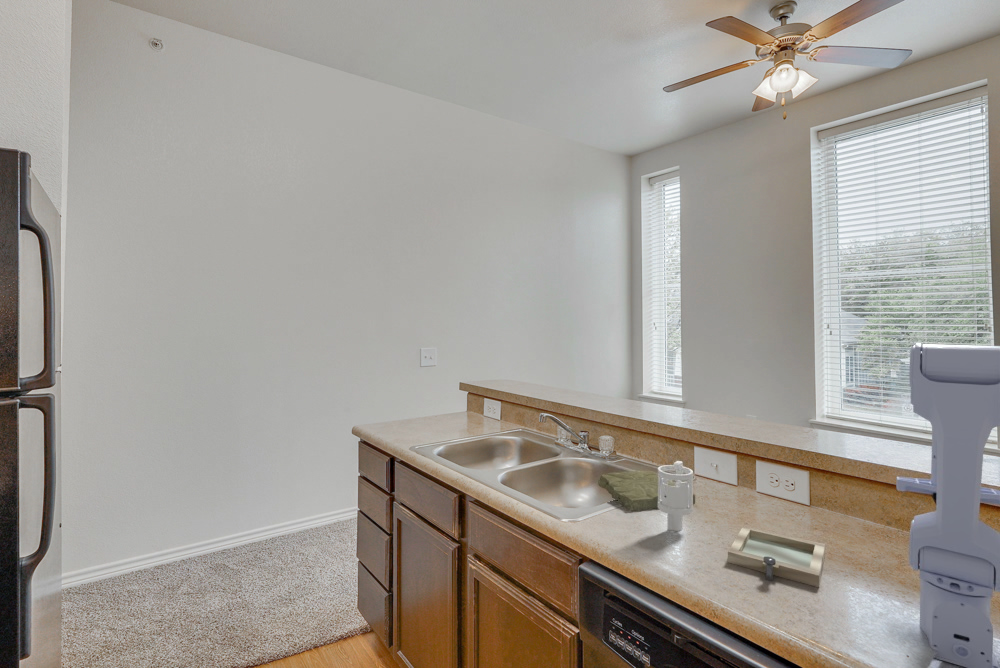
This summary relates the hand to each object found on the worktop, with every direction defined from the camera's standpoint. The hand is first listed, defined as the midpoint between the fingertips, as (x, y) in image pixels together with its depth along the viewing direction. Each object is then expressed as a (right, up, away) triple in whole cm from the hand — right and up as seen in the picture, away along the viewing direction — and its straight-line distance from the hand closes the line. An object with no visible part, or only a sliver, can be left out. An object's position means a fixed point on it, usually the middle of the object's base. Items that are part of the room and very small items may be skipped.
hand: (953, 541), depth 79 cm
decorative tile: (-37, -9, +49) cm, 62 cm away
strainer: (-37, -9, +25) cm, 45 cm away
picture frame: (-23, -8, +11) cm, 26 cm away
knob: (-28, -10, +4) cm, 30 cm away
